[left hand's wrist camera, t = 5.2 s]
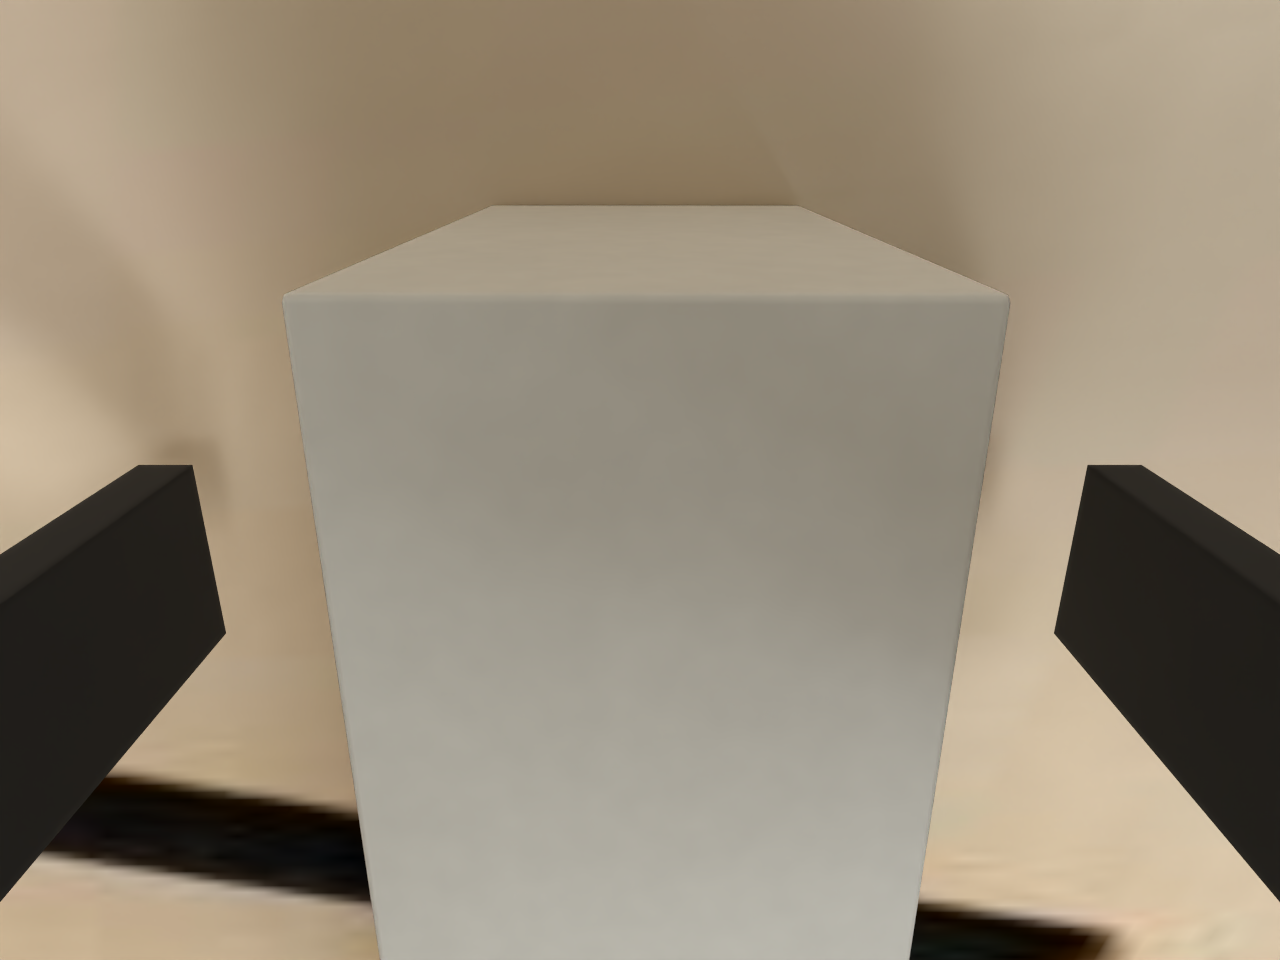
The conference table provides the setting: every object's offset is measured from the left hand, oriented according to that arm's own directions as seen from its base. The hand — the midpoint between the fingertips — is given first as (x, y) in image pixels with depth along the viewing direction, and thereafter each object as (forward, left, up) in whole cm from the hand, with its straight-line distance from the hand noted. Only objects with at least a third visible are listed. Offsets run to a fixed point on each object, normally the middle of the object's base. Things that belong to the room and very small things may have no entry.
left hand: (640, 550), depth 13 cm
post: (+16, +18, -3) cm, 24 cm away
